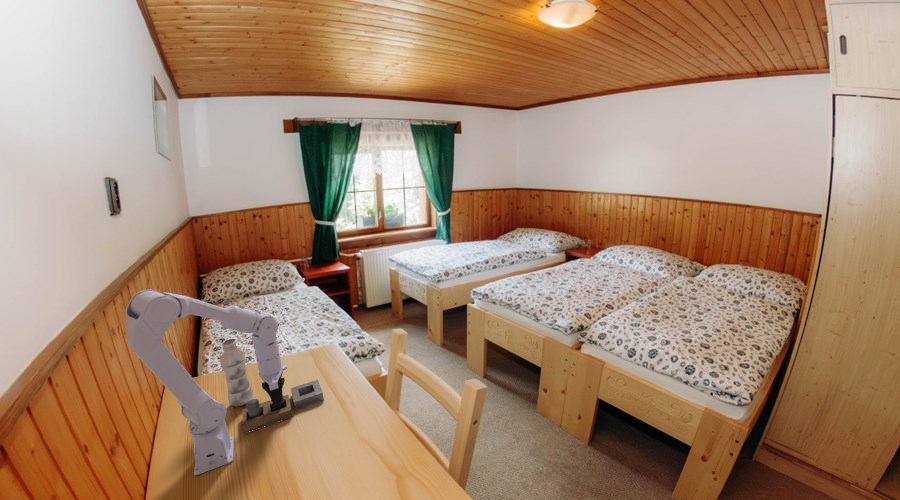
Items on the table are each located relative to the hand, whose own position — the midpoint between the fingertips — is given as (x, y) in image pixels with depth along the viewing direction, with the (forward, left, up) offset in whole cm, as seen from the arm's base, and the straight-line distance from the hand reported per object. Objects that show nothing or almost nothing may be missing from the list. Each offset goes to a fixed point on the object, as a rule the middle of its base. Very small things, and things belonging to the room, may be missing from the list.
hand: (277, 399), depth 106 cm
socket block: (+3, -8, -5) cm, 10 cm away
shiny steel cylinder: (0, 0, -4) cm, 4 cm away
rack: (0, +3, -5) cm, 5 cm away
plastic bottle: (+12, +9, -5) cm, 16 cm away
